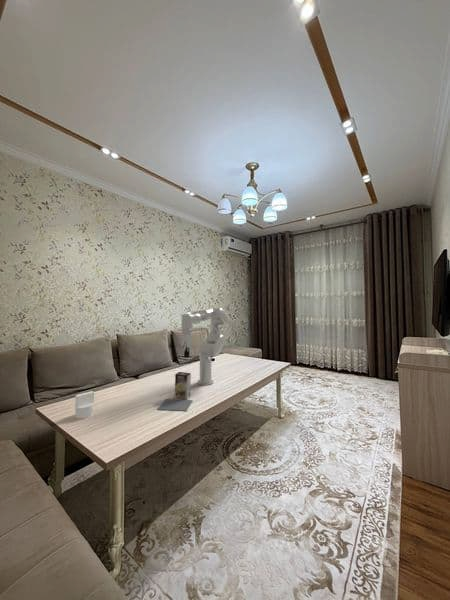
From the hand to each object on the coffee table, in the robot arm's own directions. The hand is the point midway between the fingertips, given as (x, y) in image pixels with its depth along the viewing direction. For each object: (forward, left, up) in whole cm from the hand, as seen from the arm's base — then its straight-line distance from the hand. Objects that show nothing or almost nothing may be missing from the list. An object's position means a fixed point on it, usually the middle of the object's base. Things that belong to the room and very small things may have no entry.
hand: (186, 356), depth 177 cm
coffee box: (+10, 0, -25) cm, 27 cm away
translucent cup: (+42, -48, -25) cm, 69 cm away
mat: (+23, -1, -25) cm, 34 cm away
